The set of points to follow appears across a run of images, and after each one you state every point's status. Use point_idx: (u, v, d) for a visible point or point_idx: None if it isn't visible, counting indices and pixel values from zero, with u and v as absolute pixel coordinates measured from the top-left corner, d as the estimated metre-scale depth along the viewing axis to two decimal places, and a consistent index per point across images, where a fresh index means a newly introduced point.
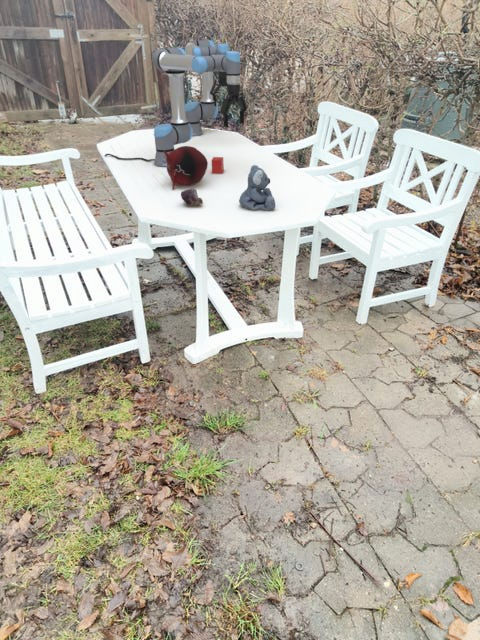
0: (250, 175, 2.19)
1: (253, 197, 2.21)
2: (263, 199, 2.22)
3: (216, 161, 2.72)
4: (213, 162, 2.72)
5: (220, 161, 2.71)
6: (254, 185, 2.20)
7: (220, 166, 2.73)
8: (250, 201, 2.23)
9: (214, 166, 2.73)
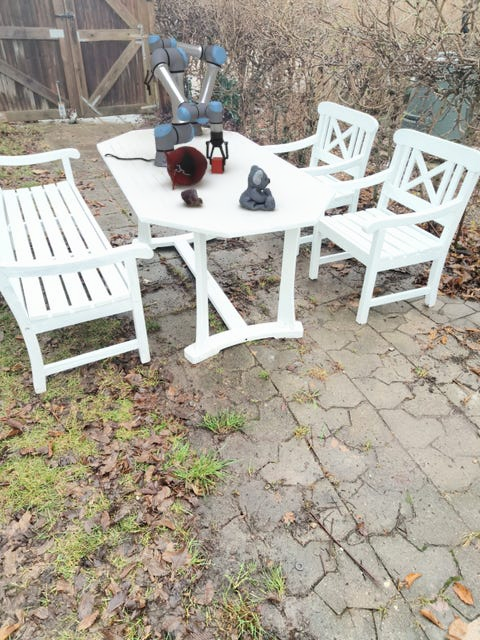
0: (250, 175, 2.19)
1: (253, 197, 2.21)
2: (263, 199, 2.22)
3: (216, 161, 2.72)
4: (213, 162, 2.72)
5: (220, 161, 2.71)
6: (254, 185, 2.20)
7: (220, 166, 2.73)
8: (250, 201, 2.23)
9: (214, 166, 2.73)
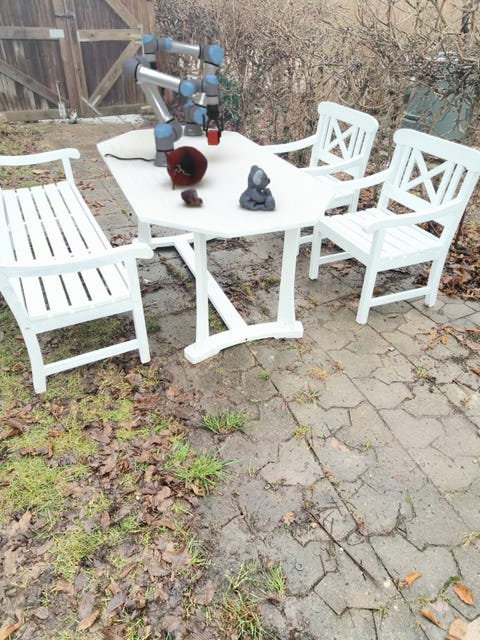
0: (250, 175, 2.19)
1: (253, 197, 2.21)
2: (263, 199, 2.22)
3: (212, 133, 2.86)
4: (209, 134, 2.87)
5: (215, 133, 2.86)
6: (254, 185, 2.20)
7: (216, 138, 2.88)
8: (250, 201, 2.23)
9: (210, 138, 2.88)
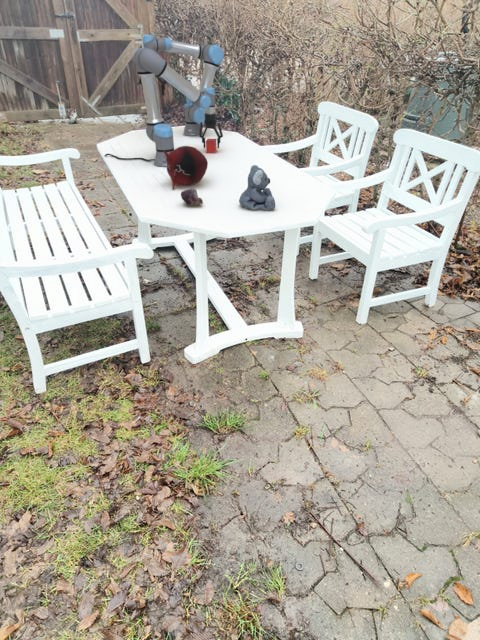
0: (250, 175, 2.19)
1: (253, 197, 2.21)
2: (263, 199, 2.22)
3: (210, 142, 3.12)
4: (207, 143, 3.12)
5: (213, 142, 3.12)
6: (254, 185, 2.20)
7: (213, 146, 3.13)
8: (250, 201, 2.23)
9: (208, 146, 3.14)
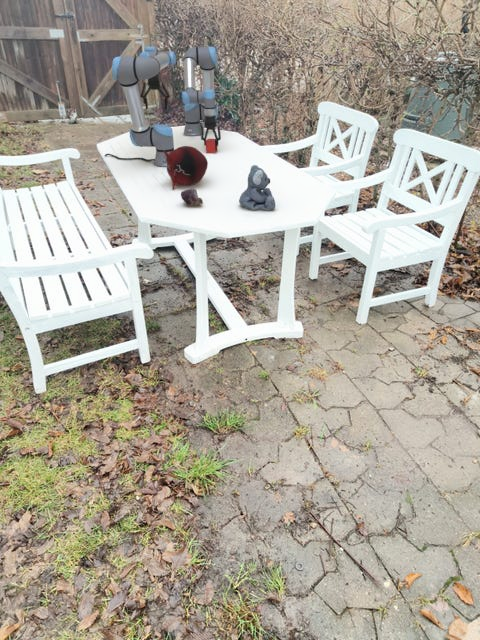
0: (250, 175, 2.19)
1: (253, 197, 2.21)
2: (263, 199, 2.22)
3: (210, 142, 3.12)
4: (207, 143, 3.12)
5: (213, 142, 3.12)
6: (254, 185, 2.20)
7: (213, 146, 3.13)
8: (250, 201, 2.23)
9: (208, 146, 3.14)
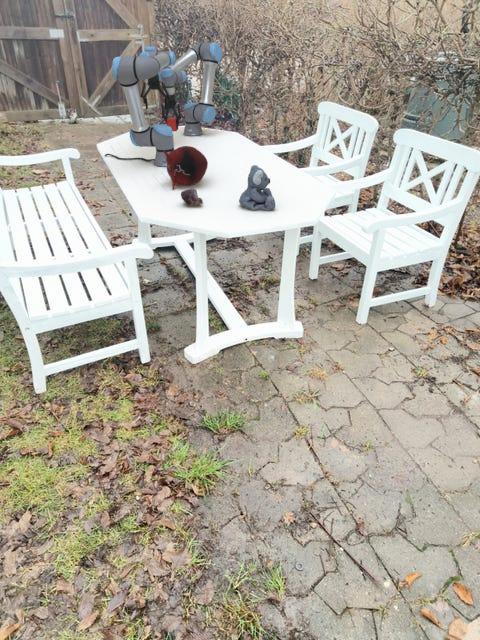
0: (250, 175, 2.19)
1: (253, 197, 2.21)
2: (263, 199, 2.22)
3: (170, 120, 3.22)
4: (168, 121, 3.23)
5: (174, 120, 3.22)
6: (254, 185, 2.20)
7: (174, 124, 3.24)
8: (250, 201, 2.23)
9: (169, 124, 3.24)
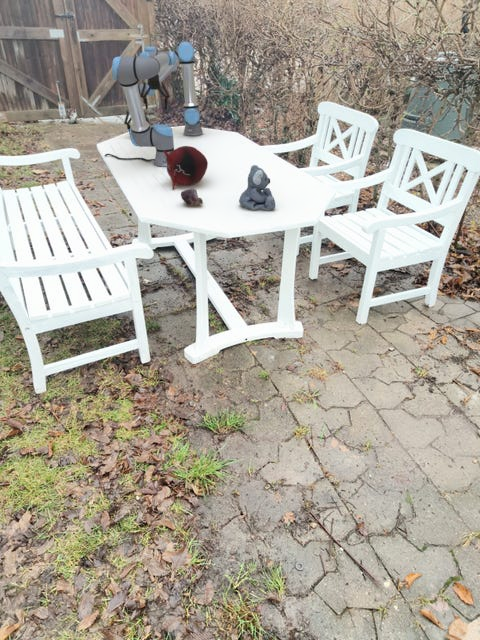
0: (250, 175, 2.19)
1: (253, 197, 2.21)
2: (263, 199, 2.22)
3: None
4: None
5: None
6: (254, 185, 2.20)
7: None
8: (250, 201, 2.23)
9: None
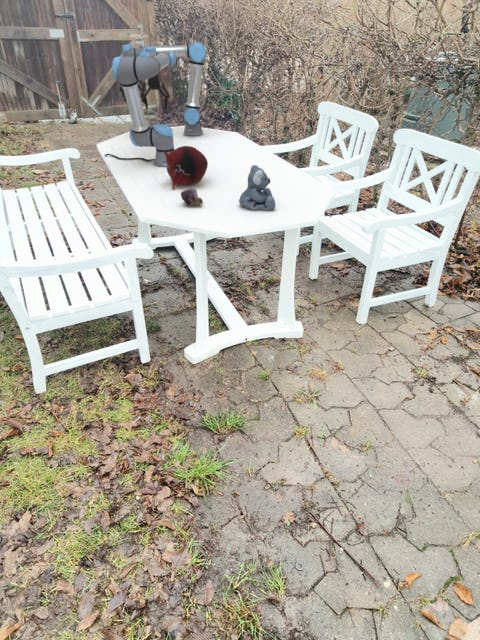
0: (250, 175, 2.19)
1: (253, 197, 2.21)
2: (263, 199, 2.22)
3: None
4: None
5: None
6: (254, 185, 2.20)
7: None
8: (250, 201, 2.23)
9: None
